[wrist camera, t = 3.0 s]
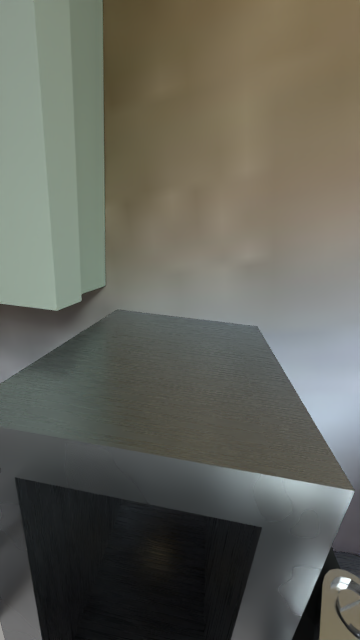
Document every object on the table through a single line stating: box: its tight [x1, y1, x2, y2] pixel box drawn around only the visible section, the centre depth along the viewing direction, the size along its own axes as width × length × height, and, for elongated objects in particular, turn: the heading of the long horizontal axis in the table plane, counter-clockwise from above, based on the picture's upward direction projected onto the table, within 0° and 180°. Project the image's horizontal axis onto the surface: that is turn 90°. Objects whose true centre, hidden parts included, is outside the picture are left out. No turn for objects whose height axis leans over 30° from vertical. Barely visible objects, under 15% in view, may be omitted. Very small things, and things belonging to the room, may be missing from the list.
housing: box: [0, 310, 355, 640], centre depth 8 cm, size 10×6×7 cm, turn 175°
